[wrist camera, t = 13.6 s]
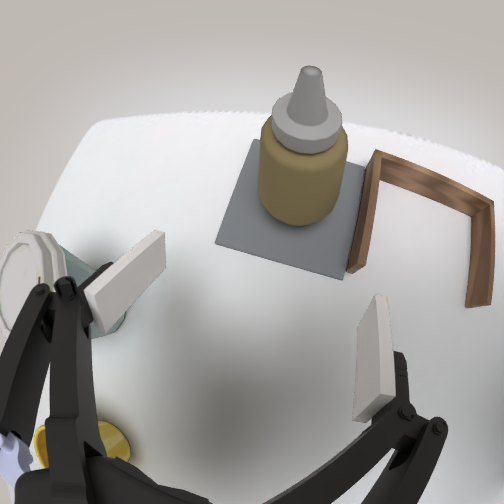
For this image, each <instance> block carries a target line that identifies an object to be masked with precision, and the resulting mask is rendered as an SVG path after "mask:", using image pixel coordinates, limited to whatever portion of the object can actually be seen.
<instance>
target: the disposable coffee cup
mask: <svg viewBox="0 0 504 504" xmlns="http://www.w3.org/2000/svg"><path fill="white" fill-rule="evenodd" d="M95 271H96V270H94V269H93V268H91V267H90V266H88V265H87V264H85V263H84V262H82V261H81V260H80V259H78V258H77V257H75V256H74V255H73V254H71V253H70V252H69V251H67V250H66V249H64V248H63V247H62V246H60V245H59V244H58V243H57V242H56V240H55V239H54V237H53V236H52V234H49V233H45V232H39V231H30V230H27V231H26V232H25V233H23V232H20V233H19V234H18V235H17V236H16V237H15V238H14V239H13V240H12V241H11V242H10V243H9V244H8V245H7V247H6V249H5V251H4V253H3V255H2V257H1V259H0V329H1V332H2V334H3V336H4V338H5V339H8V336H9V334H10V332H11V330H12V327H13V325H14V323H15V321H16V319H17V317H18V315H19V313H20V311H21V309H22V307H23V305H24V303H25V301H26V299H27V297H28V295H29V293H30V292H31V290H32V288H33V287H34V286H36V285H37V284H40V283H45V284H48V285H49V287H50V290H51V291H52V292H56V291H55V289H54V286H53V285H54V283H55V282H56V281H57V280H58V279H59V278H61V277H64V276H71V277H73V278H74V279H75V281H76V284H77V287H78V286H79V285H81V284H82V283H83V282H84V281H85V280H86V279H87V278H89V277H90V276H91V275H92V274H93V273H94V272H95ZM124 314H125V313H124ZM124 314H123V315H122V316H121V317H120V318H119V319H118V320H117V322H116V323H115V324H114V325H113V326H112V327H111V328H110V330H109V331H108V332H107V333H105V332H103V331H101V330H99V329H98V328H96V326H95V323H94V320H93V322H92V323H91V324H90V326H91V339H93V338H98V337H102V336H105V335H108V334H110V333H113V332H115V330H117V329H118V327H119V326H120V324H121V323H122V322H123V320H124Z"/></svg>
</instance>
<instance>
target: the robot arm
mask: <svg viewBox="0 0 504 504" xmlns="http://www.w3.org/2000/svg"><path fill="white" fill-rule="evenodd" d="M165 268H166V255H165V232H161V231H158V230H154V231H153V232H151V233H150V234H149V235H148V236H146V237H145V238H144V239H143V240H141V241H140V242H139V243H138V244H136V245H135V246H134V247H133V248H132V249H130V250H129V251H128V252H127V253H126V254H124V255H123V256H122V257H121V258H120V259H118V260H117V261H116V262H115V263H113V262H109V263H107V264H104V265H103V266H101V267H100V268H99V269H98V270H97V271H95V272H94V273H93V274H92V275H91V276H90V277H89V278H87V279H86V280H85V281H84V282H83V283H82V284H81V285H79V286H78V287H77V284H76V281H75V279H74V278H73V277H71V276H64V277H61V278H59V279H58V280H57V281H56V282H55V283H54V285H53V286H54V289H55V291H56V292H52V291H51V290H50V287H49V285H48V284H45V283H40V284H37V285H36V286H34V287H33V288H32V290H31V292H30V293H29V295H28V297H27V299H26V301H25V303H24V305H23V307H22V309H21V311H20V313H19V315H18V317H17V319H16V321H15V323H14V325H13V327H12V330H11V332H10V334H9V336H8V339H7V341H6V343H5V346H4V348H3V351H2V353H1V356H0V476H2V477H3V478H4V479H5V480H6V481H7V482H8V483H9V484H10V485H11V486H12V487H13V488H14V489H15V504H212V503H211V502H209V501H208V500H209V499H207V498H204V497H201V496H198V495H196V494H193V493H190V492H188V491H185V490H181V489H176V488H171V487H166V486H162V485H158V484H157V483H156V482H154V481H153V480H152V479H151V478H149V477H148V476H147V475H145V474H144V473H143V472H142V471H140V470H139V469H138V468H137V467H135V466H133V465H131V464H129V463H128V462H126V461H124V460H122V459H121V458H119V457H117V456H116V457H115V458H112V457H107V453H106V449H105V446H104V444H103V442H102V440H101V437H100V432H99V425H98V419H97V412H96V404H95V395H94V384H93V371H92V351H91V326H90V324H91V323H92V322H93V320H94V323H95V326H96V328H98V329H99V330H101V331H103V332H105V333H107V332H108V331H109V330H110V328H111V327H112V326H113V325H114V324H115V323H116V322H117V320H118V319H119V318H120V317H121V316H122V315H123V314H124V313H125V312H126V310H127V309H128V308H129V307H130V306H131V305H132V304H133V303H134V302H135V300H136V299H137V298H138V297H139V296H140V295H141V294H142V293H143V292H144V291H145V290H146V289H147V288H148V286H149V285H150V284H151V283H152V282H153V281H154V280H155V279H156V278H157V277H158V276H159V275H160V274H161V273H162V272H163V271H164V269H165ZM49 364H50V416H49V417H48V418H46V420H45V437H46V447H47V456H48V463H49V468H45V469H39V470H34V471H31V470H30V466H29V464H31V463H32V462H33V457H32V455H31V454H30V451H29V446H30V444H31V440H32V437H33V433H34V428H35V422H36V417H37V412H38V407H39V403H40V398H41V394H42V390H43V386H44V382H45V378H46V374H47V371H48V367H49ZM407 377H408V373H407V363H406V360H405V357H404V355H403V353H400V352H396V351H393V343H392V333H391V325H390V317H389V309H388V302H387V297H384V296H380V295H377V294H375V296H374V298H373V299H372V301H371V303H370V305H369V307H368V309H367V311H366V313H365V314H364V316H363V318H362V320H361V322H360V323H359V325H358V332H357V365H356V382H355V395H354V407H353V417H352V421H357V422H364V423H366V422H368V421H369V420H370V419H371V418H372V422H371V426H369V427H368V428H367V429H366V430H364V431H363V432H362V434H361V435H360V436H358V437H357V438H356V439H355V440H354V441H353V442H351V443H350V444H349V445H348V446H347V447H346V448H344V449H343V450H342V451H341V452H339V453H338V454H337V455H336V456H334V457H333V458H332V459H330V460H329V461H328V462H327V463H325V464H324V465H323V466H321V467H320V468H318V469H317V470H316V471H314V472H313V473H311V474H310V475H308V476H307V477H306V478H304V479H303V480H301V481H300V482H298V483H297V484H295V485H293V486H292V487H290V488H289V489H287V490H285V491H284V492H282V493H280V494H279V495H277V496H275V497H274V498H272V499H270V500H268V501H267V502H265V503H263V504H331V503H332V502H334V501H335V500H336V499H337V498H339V497H340V496H341V495H342V494H344V493H345V492H346V491H347V490H348V489H350V488H351V487H352V486H353V485H354V484H355V483H356V482H358V481H359V480H360V479H361V478H362V477H363V476H364V475H365V474H366V473H367V472H369V471H370V470H371V469H372V468H373V467H374V466H375V465H376V464H377V463H378V462H379V461H380V460H381V459H382V458H383V457H384V456H385V455H386V454H387V453H388V451H389V450H390V449H391V448H393V449H395V451H394V453H393V455H392V456H391V458H390V460H389V462H388V463H387V465H386V467H385V468H384V470H383V472H382V473H381V475H380V476H379V478H378V480H377V481H376V483H375V484H374V486H373V487H372V489H371V490H370V492H369V493H368V495H367V496H366V497H365V499H364V500H363V502H362V503H361V504H417V503H418V501H419V499H420V497H421V495H422V493H423V491H424V489H425V487H426V485H427V483H428V481H429V479H430V477H431V475H432V472H433V470H434V468H435V466H436V463H437V461H438V458H439V456H440V453H441V451H442V448H443V445H444V443H445V440H446V437H447V434H448V425H447V423H446V421H445V420H444V419H443V418H440V417H434V418H432V419H431V420H427V419H425V418H423V417H421V416H419V415H417V414H416V410H415V408H414V406H413V405H412V404H411V403H410V401H409V385H408V378H407Z"/></svg>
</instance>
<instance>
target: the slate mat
mask: <svg viewBox="0 0 504 504" xmlns="http://www.w3.org/2000/svg"><path fill="white" fill-rule="evenodd" d="M259 153H260V140H258V139H254V140H253V142H252V145H251V147H250V150H249V152H248V155H247V157H246V160H245V162H244V165H243V168H242V170H241V173H240V175H239V178H238V181H237V183H236V186H235V189H234V191H233V194H232V197H231V199H230V202H229V205H228V207H227V210H226V213H225V215H224V218H223V221H222V224H221V227H220V229H219V232H218V235H217V238H216V241H215V244H217V245H221V246H224V247H228V248H231V249H235V250H238V251H241V252H245V253H248V254H252V255H255V256H259V257H262V258H266V259H269V260H273V261H276V262H280V263H283V264H287V265H290V266H294V267H297V268H301V269H304V270H307V271H311V272H314V273H318V274H321V275H325V276H328V277H332V278H335V279H339V280H343V277H344V273H345V269H346V264H347V260H348V256H349V251H350V247H351V242H352V237H353V232H354V227H355V222H356V217H357V212H358V206H359V200H360V194H361V188H362V182H363V175H364V168H365V167H363V166H360V165H357V164H354V163H350V162H347V161H346V163H345V168H344V173H343V178H342V183H341V188H340V193H339V197H338V200H337V202H336V204H335V206H334V208H333V210H332V211H331V212H330V213H329V214H328V215H327V216H326V217H324V218H323V219H322V220H321V221H317V222H314V223H311V224H307V225H304V226H292V225H288V224H286V223H284V222H282V221H280V220H278V219H276V218H275V217H273V216H272V215H271V214H270V213H269V212H268V211H267V209H266V208H265V207H264V206H263V205H262V203H261V200H260V197H259V194H258V191H257V190H258V172H259Z"/></svg>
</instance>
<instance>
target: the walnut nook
mask: <svg viewBox="0 0 504 504" xmlns="http://www.w3.org/2000/svg"><path fill="white" fill-rule="evenodd" d="M379 180H382V181H385V182H388V183H390V184H393V185H396V186H399V187H401V188H404V189H407V190H410V191H412V192H415V193H417V194H420V195H422V196H425V197H427V198H430V199H432V200H435V201H437V202H440V203H442V204H444V205H447V206H449V207H451V208H453V209H456V210H458V211H460V212H462V213H464V214H467V215H469V216H471V218H472V228H471V255H470V269H469V279H468V288H467V295H466V302H465V307H467V308H473V307H480V306H487V305H491V300H492V291H493V281H494V266H495V215H494V201H492V200H491V199H489V198H487V197H485V196H483V195H481V194H480V193H478V192H476V191H474V190H472V189H470V188H468V187H466V186H464V185H462V184H460V183H458V182H456V181H454V180H451V179H449V178H447V177H445V176H443V175H440V174H438V173H436V172H434V171H431V170H429V169H427V168H424V167H422V166H419V165H417V164H414V163H412V162H409V161H407V160H404V159H402V158H399V157H396V156H393V155H391V154H388V153H385V152H382V151H379V150H376V149H375V151H374V153H373V155H372V157H371V159H370V161H369V163H368V165H367V167H366V169H365V174H364V181H363V187H362V193H361V199H360V205H359V211H358V216H357V222H356V227H355V232H354V237H353V242H352V246H351V251H350V256H349V260H348V264H347V269H346V272H348V273H352V274H353V273H355V272H356V271H358V270H359V269H361V268H362V267H364V266H365V265H366V260H367V255H368V250H369V245H370V239H371V234H372V228H373V222H374V215H375V209H376V202H377V195H378V187H379Z"/></svg>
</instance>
